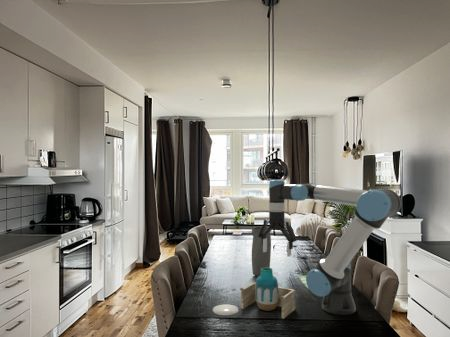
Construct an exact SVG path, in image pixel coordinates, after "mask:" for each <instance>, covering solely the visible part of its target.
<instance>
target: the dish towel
mask: <svg viewBox="0 0 450 337" xmlns="http://www.w3.org/2000/svg"><path fill="white" fill-rule="evenodd" d="M306 276H307V275H299V277H298V280H299V281H300V283H302V285H304V287H305V288H307V290H309V288H308V286H307V282H306Z"/></svg>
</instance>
